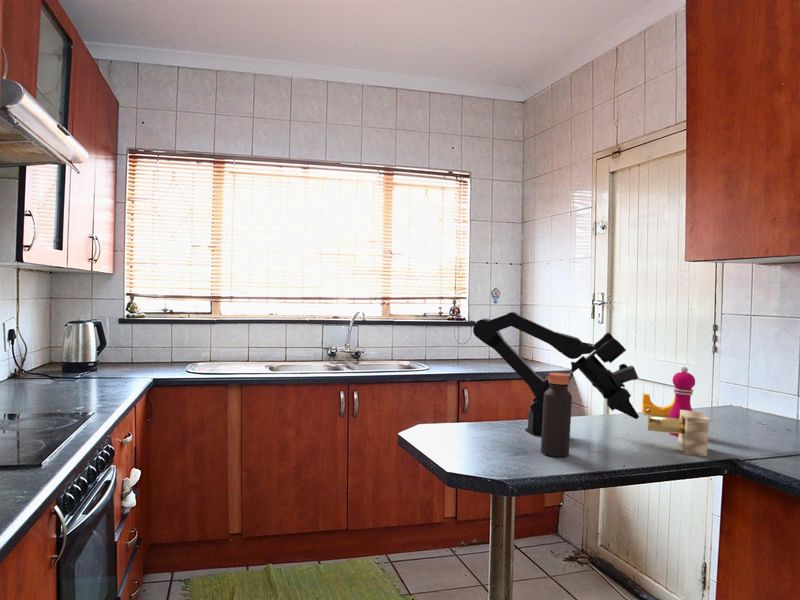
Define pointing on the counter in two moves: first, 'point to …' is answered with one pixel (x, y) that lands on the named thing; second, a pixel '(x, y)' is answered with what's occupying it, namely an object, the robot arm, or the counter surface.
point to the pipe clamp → (654, 407)
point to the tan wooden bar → (666, 424)
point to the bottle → (556, 417)
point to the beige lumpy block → (694, 433)
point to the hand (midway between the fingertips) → (637, 417)
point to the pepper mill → (682, 393)
